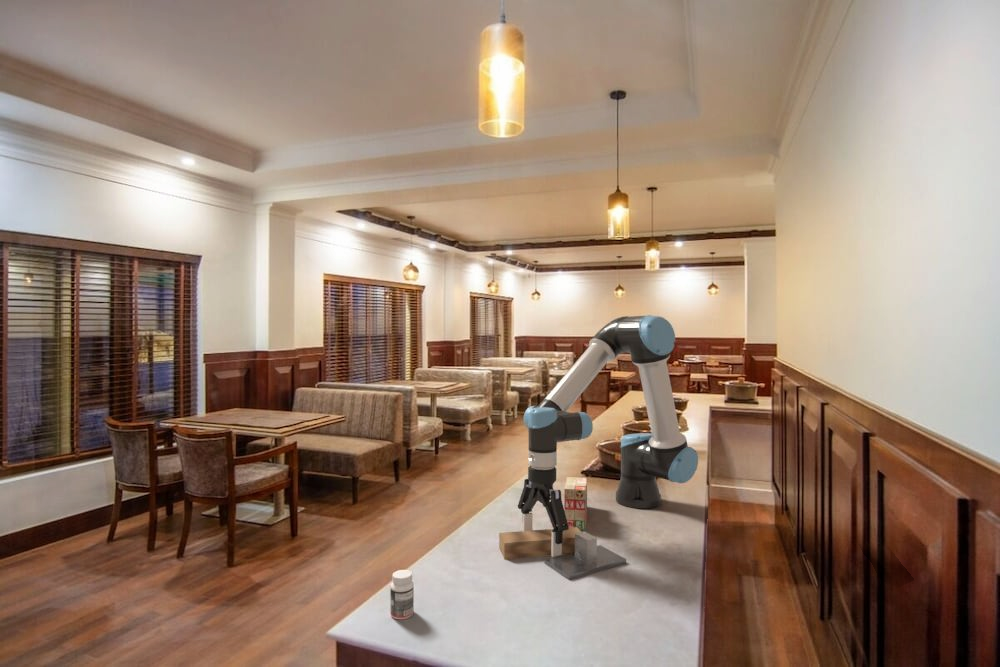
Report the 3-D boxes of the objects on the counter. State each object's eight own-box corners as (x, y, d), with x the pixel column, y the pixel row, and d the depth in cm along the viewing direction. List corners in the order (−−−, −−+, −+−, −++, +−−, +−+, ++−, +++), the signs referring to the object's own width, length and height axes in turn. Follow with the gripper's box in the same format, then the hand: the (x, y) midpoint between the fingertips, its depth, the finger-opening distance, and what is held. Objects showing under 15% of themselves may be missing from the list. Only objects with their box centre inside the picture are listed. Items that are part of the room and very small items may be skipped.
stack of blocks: (568, 505, 177) (568, 469, 177) (587, 507, 176) (587, 470, 176) (564, 529, 156) (564, 487, 156) (585, 531, 155) (585, 489, 155)
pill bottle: (391, 608, 111) (391, 568, 111) (414, 607, 112) (414, 568, 112) (389, 620, 107) (389, 579, 107) (412, 619, 107) (412, 578, 107)
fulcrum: (600, 548, 142) (600, 522, 142) (626, 563, 133) (626, 535, 133) (544, 563, 133) (544, 535, 133) (568, 579, 124) (568, 550, 124)
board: (577, 543, 146) (577, 527, 146) (585, 553, 140) (585, 536, 140) (499, 549, 142) (499, 532, 142) (504, 560, 135) (504, 543, 135)
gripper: (506, 458, 150) (505, 532, 150) (558, 479, 128) (557, 567, 128) (528, 455, 154) (527, 528, 153) (583, 475, 132) (582, 560, 132)
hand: (541, 546), depth 141 cm, fingers open, 13 cm apart
